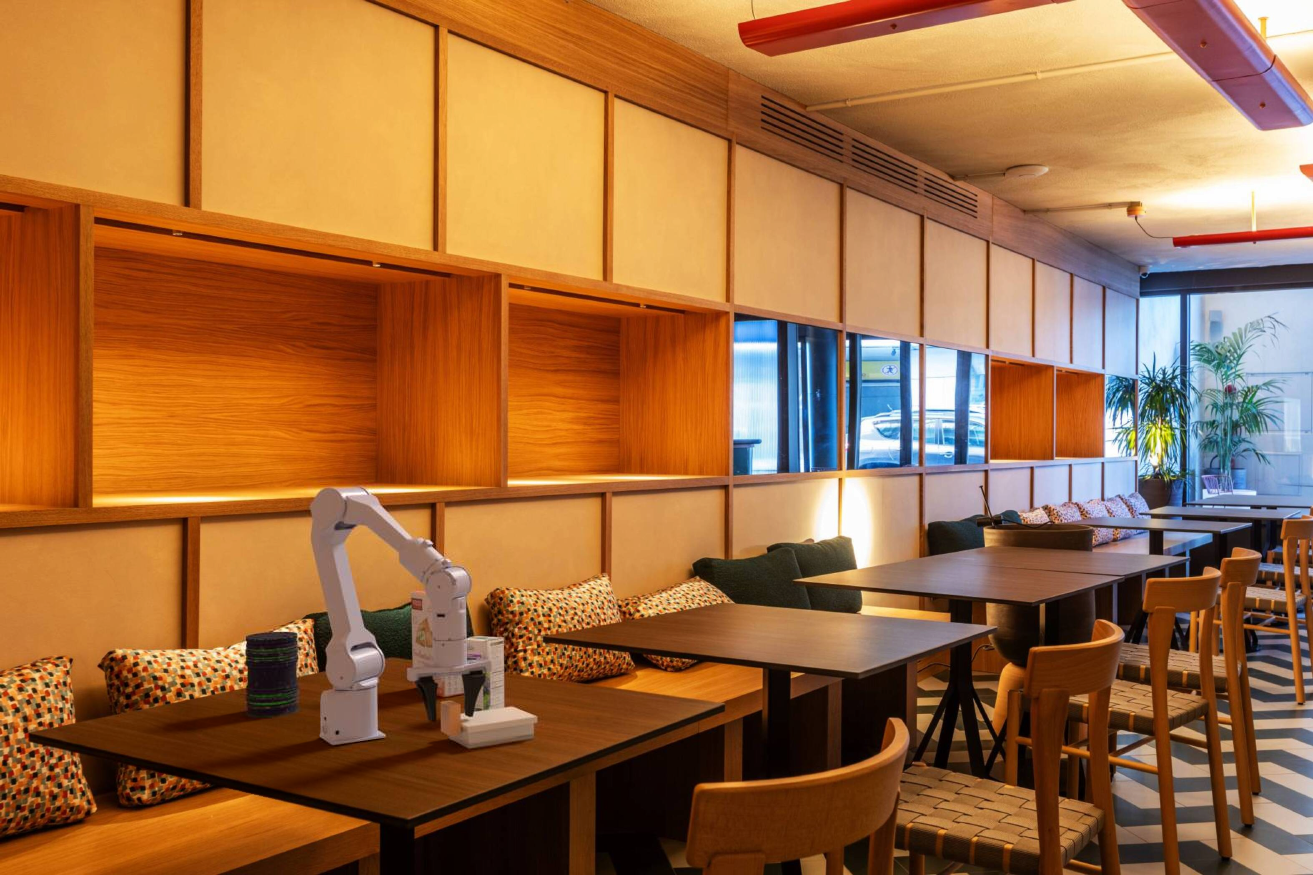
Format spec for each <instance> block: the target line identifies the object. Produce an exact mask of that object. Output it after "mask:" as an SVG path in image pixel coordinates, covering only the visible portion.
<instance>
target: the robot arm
mask: <svg viewBox="0 0 1313 875" xmlns="http://www.w3.org/2000/svg"><path fill="white" fill-rule="evenodd" d="M309 509H310V513H311V517H312V525H311V531H310V544H311V547H312V551H313V557H314V560H315V564H316V570H317V573H318V577H319V578H318V579H319V582H320V585H321V586H320V587H321V590H322V594H323V599H324V603H325V607H326V611H327V616H328V620H329V625H330V628H331V633H332V634H331V635H332V636H331V638H330V640H329V642H328V644H327V646H326V647H325V653H326V654H325V655H326V665H325V674H326V676H327V680H328V682H329V683H330V684H331V685H332V689H328V690H323V691H322V693H321V695H320V704H319V705H320V710H319V711H320V733H319V737H320V738H321V739H323V740H324V741H326V742H327V743H328V744H330V745H331V746H336V745H343V744H351V743H355V742H356V743H357V742H362V741H363V742H364V741H368V740H376V739H383V738H386V734H385V733H383V732H382V731H380V730H378V728H379V727H378V723H379V722H378V721H379V720H378V683H379V677H380V676H382V674H383V672H384V669H385V667H386V660H385V655H384V653H383V651H382V650H381V648H380V647H379V645H378V644H377V640H376V637H375V635H374V634H373V633H372V632H371V631H369V630H368V629H366V627H365V625H364V620H363V617H362V612H361V609H360V604H359V600H358V596H357V591H356V587H355V583H354V578H353V575H352V571H351V570H352V569H351V566H350V562H349V557H348V554H347V549H346V546H345V542H346V540H347V539H348V537H349V536H350V534H351V533H352V532H353V530H355V529H356V528H357V527H358V526H365V527H367V528H368V529H369V530H370V531H371V532H373V533H374V534H375V535H377V537H379V538H380V539H381V540H383V541H384V543H386V544H388V545H389V546H390V547H391V548H393V549H394V550H395V551H396V552H397V553H398V563H399V564H400V565H401V566H402V567H403V568H405V569H406V570H407V571H408V572H409V573H410V574H411V575H412V576H414V578H415V579H417V580H418V582H420V583H421V584H422V585H423V586H424V590H425V593H426V595H427V597H428V598H429V600H430V602H431V610H432V634H433V664H429V665H424V666H419V667H413V666H412V667H407V668H406V677H407V680H408V681H409V682H413V681H414V682H415V685H416V687H417V688H418V689H417V688H416V689H417V690H418V692H419V694H420V696H421V700H422V701H423V704H424V707H425V712H426V716H427V721H429V722H430V723H437V717H438V716H437V713H438V712H437V697H438V695H437V688H438V683H436V682H435V680H433V678H436V677H444V676H452V675H460V674H462V680H463V687H464V694H463V695H464V696H463V697H464V698H463V702H464V704H463V712H464V711H465V715H466V716H468V717H473V714H474V709H475V704H476V701H477V697H478V695H479V692H480V690H481V688H482V686H483V684H484V682H485V679H486V675H485V674H483V672H491V671H492V665H491V660H488V659H482V660H467V596H468V595H469V594H470V592H471V590H472V585H473V582H472V576H471V575H470V573H469V571H467V569H466V568H465V567H464V566H462V565H453V564H452V560H451V559H449V558H445V557H444V556H443V555H442V554H441V553H440V552H438V551H437V550H436V549H435V548H434V547H433V545H434V542H432V541H431V540H430V539H424V538H423V537H415V538H413V537H412V536H411V535H410V534H409V532H407V531H406V530H405V528H403V527H402V525H400V524H399V523H398V521H397V520H395V519H394V518H393V516H392V515H391V514H390V513H389V512H388V511H387V510H386V509H385V508H384V507H383V506H382V505H381V503H380V501H379V499H378V497H377V496H375V495H374V494H371V492H370V491H369V490H368V489H367V488H365V487H363V486H361V485H360V486H359V485H358V486H357V485H355V486H352V487H351V486H350V487H349V486H348V487H332V486H331V487H329V486H328V487H324V488H322V489H320V490H319V492H318V493H317V494H316V495H315V497H314V498H313V501H312V502H311V503H310V505H309ZM441 672H447V673H441Z"/></svg>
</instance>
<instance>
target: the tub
mask: <svg viewBox="0 0 1313 875" xmlns="http://www.w3.org/2000/svg"><path fill="white" fill-rule="evenodd" d="M534 728H535V723H530V724H524V725H517V726H511V727H504V728H497V729H491V730H484V731H478V732H471V733H467V729H465V728H463V727H461V734H459V735H452V736H449V735H448V739H450V740H451V741H453V742H456V743H458V744H460V745H462V746H463V747H465V748H467V749H476V748H483V747H487V746H488V747H489V746H495V745H501V744H507V743H512V742H520V741H527V740H531V739H534V738H535V729H534Z"/></svg>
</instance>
